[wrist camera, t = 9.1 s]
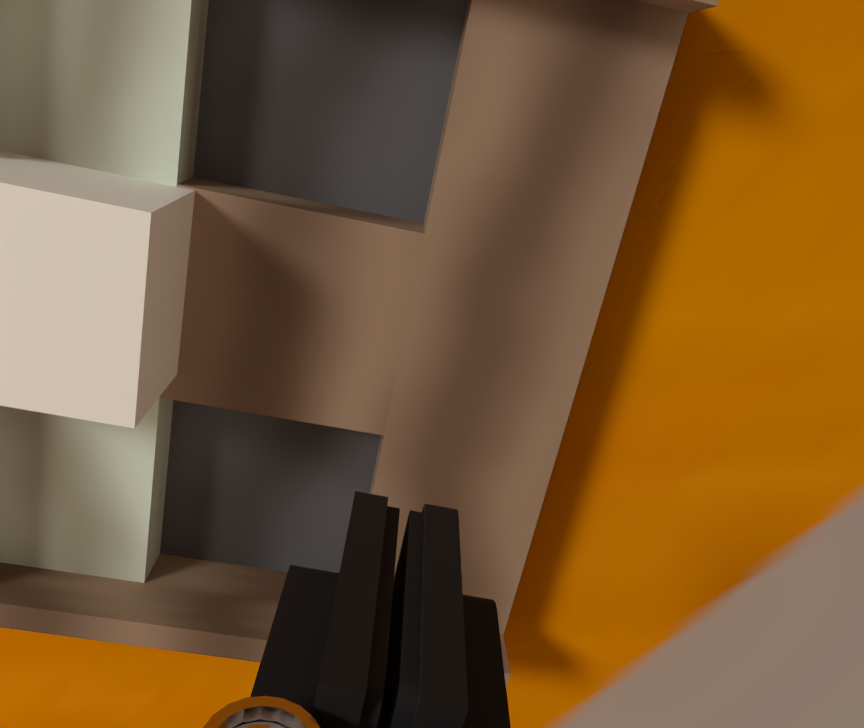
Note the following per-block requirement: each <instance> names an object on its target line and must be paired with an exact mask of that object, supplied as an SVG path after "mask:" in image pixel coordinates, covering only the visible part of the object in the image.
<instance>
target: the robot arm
mask: <svg viewBox="0 0 864 728" xmlns="http://www.w3.org/2000/svg"><path fill="white" fill-rule="evenodd" d="M399 514H400V508H395V507H390V506H388V497H386V496H380V495H374V494H369V493H363V492H358V491H355V495H354V500H353V505H352V511H351V516H350V521H349V526H348V531H347V536H346V541H345V546H344V551H343V557H342V562H341V567H340V572H339V573H335V572H329V571H323V570H317V569H312V568H306V567H300V566H294V565H290V567H289V570H288V573H287V576H286V580H285V583H284V586H283V590H282V593H281V596H280V600H279V603H278V606H277V610H276V613H275V616H274V620H273V623H272V626H271V630H270V633H269V636H268V640H267V643H266V647H265V650H264V653H263V657H262V660H261V663H260V667H259V670H258V673H257V677H256V680H255V683H254V687H253V690H252V693H251V697H247V698H244V699H241V700H238V701H236V702H233V703H230V704H228V705H227V706H225V707H224V708H222V709H221V710H219V711H218V712H217V713H215V714H214V715H213V716H212V717H211V718H210V720H209V721H208V722H207V723H206V725H205V726H204V727H203V728H510V719H509V711H508V702H507V693H506V684H505V675H504V666H503V658H502V649H501V640H500V631H499V622H498V613H497V607H496V603H495V601H494V600H492V599H486V598H480V597H474V596H469V595H463V592H462V572H461V552H460V532H459V513H458V510H457V509H452V508H447V507H441V506H436V505H430V504H424V506H423V509H422V512H418V511H412V510H410V512H409V515H408V519H407V523H406V528H405V532H404V537H403V541H402V545H401V550H400V554H399V559H398V563H397V567H396V572H395V561H396V549H397V537H398V526H399ZM394 573H395V576H394Z"/></svg>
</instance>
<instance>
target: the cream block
mask: <svg viewBox="0 0 864 728" xmlns="http://www.w3.org/2000/svg"><path fill="white" fill-rule="evenodd" d="M194 196H195V190H191V189H186V188H181V187H176V186H171V185H166V184H161V183H157V182H152V181H147V180H142V179H137V178H132V177H127V176H123V175H118V174H113V173H108V172H103V171H98V170H93V169H88V168H84V167H79V166H74V165H69V164H64V163H59V162H54V161H50V160H45V159H40V158H35V157H30V156H25V155H20V154H15V153H11V152H6V151H1V150H0V406H6V407H12V408H18V409H24V410H29V411H35V412H41V413H47V414H53V415H59V416H65V417H70V418H76V419H82V420H88V421H94V422H100V423H106V424H111V425H117V426H123V427H129V428H135V427H136V426H137V425H138V423H139V422H140V421H141V420H142V418H143V417H144V416H145V414H146V413H147V412H148V411H149V409H150V408H151V407H152V406H153V404H154V403H155V402H156V401H157V399H158V398H159V397H160V395H161V394H162V393H163V392H164V390H165V389H166V388H167V387H168V385H169V384H170V383H171V381H172V380H173V379H174V378H175V376H176V375H177V371H178V360H179V350H180V340H181V329H182V319H183V309H184V299H185V288H186V278H187V268H188V257H189V247H190V237H191V226H192V216H193V206H194Z"/></svg>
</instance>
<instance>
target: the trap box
mask: <svg viewBox="0 0 864 728" xmlns="http://www.w3.org/2000/svg"><path fill="white" fill-rule="evenodd" d="M717 4H718V0H0V150H1V151H6V152H11V153H15V154H20V155H25V156H30V157H35V158H40V159H45V160H50V161H54V162H59V163H64V164H69V165H74V166H79V167H84V168H88V169H93V170H98V171H103V172H108V173H113V174H118V175H123V176H127V177H132V178H137V179H142V180H147V181H152V182H157V183H161V184H166V185H171V186H176V187H181V188H186V189H191V190H195V196H194V206H193V216H192V226H191V237H190V247H189V257H188V268H187V278H186V288H185V299H184V309H183V319H182V329H181V340H180V350H179V360H178V371H177V375H176V376H175V378H174V379H173V380H172V381H171V383H170V384H169V385H168V387H167V388H166V389H165V390H164V392H163V393H162V394H161V395H160V397H159V398H158V399H157V401H156V402H155V403H154V404H153V406H152V407H151V408H150V409H149V411H148V412H147V413H146V414H145V416H144V417H143V418H142V420H141V421H140V422H139V423H138V425H137V426H136V427H135V428H129V427H123V426H117V425H111V424H106V423H100V422H94V421H88V420H82V419H76V418H70V417H65V416H59V415H53V414H47V413H41V412H35V411H29V410H24V409H18V408H12V407H6V406H0V627H3V628H10V629H17V630H25V631H32V632H39V633H47V634H54V635H62V636H69V637H76V638H84V639H91V640H99V641H106V642H113V643H121V644H128V645H136V646H143V647H150V648H158V649H165V650H173V651H180V652H187V653H195V654H202V655H209V656H217V657H224V658H232V659H239V660H246V661H254V662H261V660H262V657H263V653H264V650H265V647H266V643H267V640H268V636H269V633H270V630H271V626H272V623H273V620H274V616H275V613H276V610H277V606H278V603H279V600H280V596H281V593H282V590H283V586H284V583H285V580H286V576H287V573H288V570H289V567H290V565H294V566H300V567H306V568H312V569H317V570H323V571H329V572H335V573H339V572H340V567H341V562H342V557H343V551H344V546H345V541H346V536H347V531H348V526H349V521H350V516H351V511H352V505H353V500H354V495H355V491H358V492H363V493H369V494H374V495H380V496H386V497H388V506H390V507H395V508H400V514H399V526H398V537H397V549H396V561H395V572H396V567H397V563H398V559H399V554H400V550H401V545H402V541H403V537H404V532H405V528H406V523H407V519H408V515H409V512H410V510H412V511H418V512H422V509H423V506H424V504H430V505H436V506H441V507H447V508H452V509H457V510H458V513H459V532H460V552H461V572H462V592H463V595H469V596H474V597H480V598H486V599H492V600H494V601H495V603H496V607H497V613H498V622H499V631H500V640H501V649H502V658H503V666H504V675H505V684H506V687H507V684H508V681H509V677H510V668H509V663H508V657H507V651H506V645H505V640H504V632H505V628H506V625H507V622H508V618H509V615H510V612H511V608H512V605H513V602H514V598H515V595H516V591H517V588H518V585H519V581H520V578H521V575H522V571H523V568H524V565H525V561H526V558H527V554H528V551H529V548H530V544H531V541H532V538H533V534H534V531H535V528H536V524H537V521H538V517H539V514H540V511H541V507H542V504H543V501H544V497H545V494H546V491H547V487H548V484H549V481H550V477H551V474H552V470H553V467H554V464H555V460H556V457H557V454H558V450H559V447H560V444H561V440H562V437H563V433H564V430H565V427H566V423H567V420H568V417H569V413H570V410H571V407H572V403H573V400H574V396H575V393H576V390H577V386H578V383H579V380H580V376H581V373H582V370H583V366H584V363H585V359H586V356H587V353H588V349H589V346H590V343H591V339H592V336H593V333H594V329H595V326H596V322H597V319H598V316H599V312H600V309H601V306H602V302H603V299H604V296H605V292H606V289H607V286H608V282H609V279H610V275H611V272H612V269H613V265H614V262H615V259H616V255H617V252H618V249H619V245H620V242H621V238H622V235H623V232H624V228H625V225H626V222H627V218H628V215H629V212H630V208H631V205H632V201H633V198H634V195H635V191H636V188H637V185H638V181H639V178H640V175H641V171H642V168H643V164H644V161H645V158H646V154H647V151H648V148H649V144H650V141H651V138H652V134H653V131H654V127H655V124H656V121H657V117H658V114H659V111H660V107H661V104H662V101H663V97H664V94H665V91H666V87H667V84H668V80H669V77H670V74H671V70H672V67H673V64H674V60H675V57H676V54H677V50H678V47H679V43H680V40H681V37H682V33H683V30H684V27H685V23H686V20H687V17H688V13H690V12H694V11H698V10H703V9H707V8H711V7H715V6H717ZM394 576H395V573H394Z"/></svg>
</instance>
